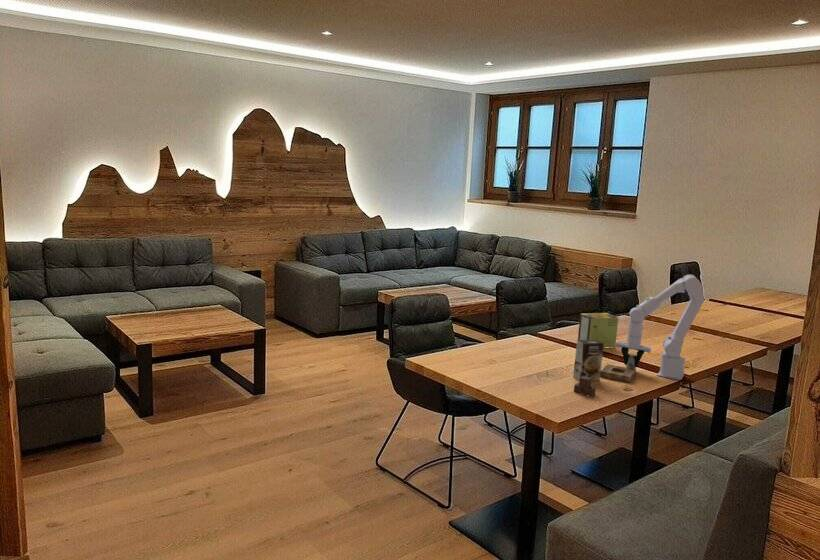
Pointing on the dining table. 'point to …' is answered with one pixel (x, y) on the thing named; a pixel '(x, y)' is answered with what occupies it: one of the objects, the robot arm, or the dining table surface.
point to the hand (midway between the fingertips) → (631, 365)
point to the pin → (631, 361)
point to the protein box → (598, 328)
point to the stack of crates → (584, 386)
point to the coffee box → (588, 359)
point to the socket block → (618, 373)
